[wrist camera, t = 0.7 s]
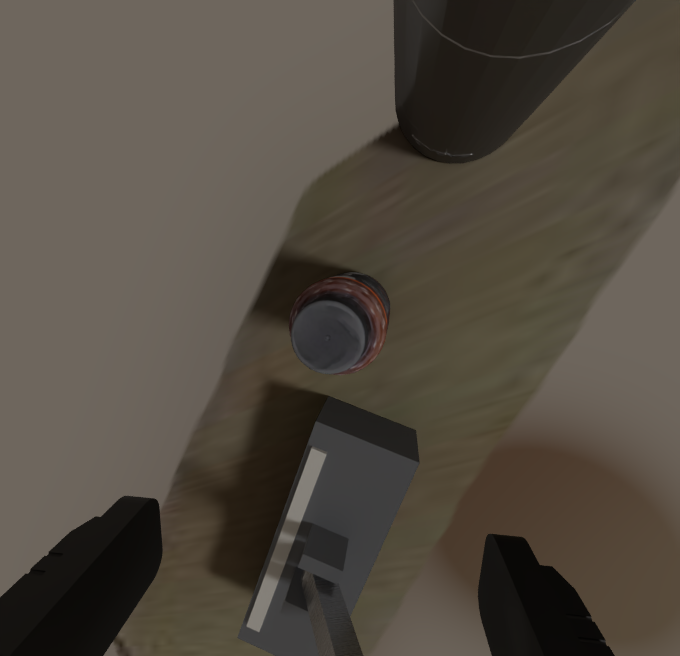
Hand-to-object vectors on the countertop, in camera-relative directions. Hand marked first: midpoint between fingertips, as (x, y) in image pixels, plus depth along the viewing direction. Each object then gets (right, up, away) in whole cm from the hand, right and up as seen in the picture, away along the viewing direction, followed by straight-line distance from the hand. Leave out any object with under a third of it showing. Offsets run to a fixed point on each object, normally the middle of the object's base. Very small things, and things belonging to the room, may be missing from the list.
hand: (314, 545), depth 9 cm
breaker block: (0, -12, +25) cm, 27 cm away
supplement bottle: (+2, +7, +21) cm, 22 cm away
